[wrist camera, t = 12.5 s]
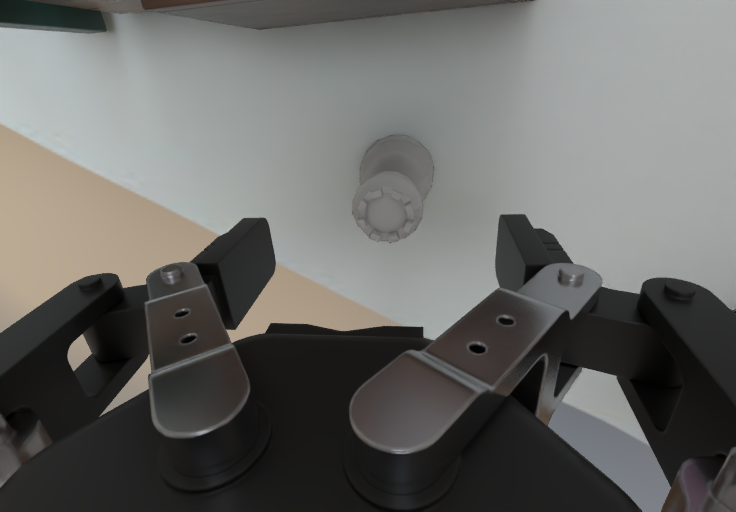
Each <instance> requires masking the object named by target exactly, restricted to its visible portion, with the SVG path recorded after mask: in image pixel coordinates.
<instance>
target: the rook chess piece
mask: <svg viewBox="0 0 736 512" xmlns="http://www.w3.org/2000/svg"><path fill="white" fill-rule="evenodd" d="M433 172H434V166H433V163H432V160H431V157H430V154H429V153H428V151H427V150H426V149H425V148H424V147H423V146H422V144H421V143H420V142H418V141H416V140H414V139H411V138H409V137H407V136H396V135H391V136H388V137H386V138H383V139H380V140H377V141H376V142H375V143H374V144H373V145H372V146H371V147H370V148H369V149H368V150H367V151H366V154H365V156H364V158H363V160H362V163H361V167H360V183H361V186H360V187H359V188H358V190H357V192H356V194H355V196H354V199H353V211H352V214H353V216H354V219H355V221H356V223H357V226H358V227H359V228H360V229H361V230H362V231H363V232H364V233H365V234H366V235H367V236H369V238H370V239H372V240H374V241H377V242H379V241H386V242H389V243H392V242H395V241H399V240H401V239H404V238H406V237H407V236H409V235H410V234H411V233H412V232H414V231H415V230H416V228H417V226H418V225H419V223H420V221H421V219H422V211H423V204H422V200H423V199H425V197H426V195H427V193H428V192H429V190H430V188H431V186H432V182H433Z"/></svg>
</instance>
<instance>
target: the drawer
mask: <svg viewBox="0 0 736 512" xmlns="http://www.w3.org/2000/svg"><path fill="white" fill-rule="evenodd" d="M101 11H103V12H110V13H111V12H113V13H119V14H124V13H133V12H141V11H148V10H144V9H143V7H142V3H141V0H0V27H5V28H19V29H32V30H46V31H60V32H73V33H87V34H91V33H100V32H106V31H107V29H106V26H105V23H104V19H103V16H102V13H101Z"/></svg>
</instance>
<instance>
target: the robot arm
mask: <svg viewBox="0 0 736 512" xmlns="http://www.w3.org/2000/svg"><path fill="white" fill-rule="evenodd" d="M275 265H276V261H275V254H274V249H273V244H272V239H271V233H270V228H269V224H268V221H267V220H266V219H265V218H243V219H242V220H241V221H240V222H239V223H238V224H237V225H235V226H234V227H233V228H232V229H231V230H230V231H229V232H227V233H225V234H223V235H221V236H219V237H218V238H216V239H215V240H214V241H213V242H212V243H211V244H210V245H209V246H207V247H206V248H205V249H204V251H202V252H201V253H200V254H199V255H197V256H196V257H195V258H194V259H193V260H192V261H190V262H180V263H173V264H169V265H166V266H163V267H161V268H158V269H156V270H155V271H153V272H152V273H150V274H149V275H148V276H147V279H146V282H147V284H146V285H140V286H133V287H127V288H123V287H122V285H121V282H120V280H119V277H118V275H116V274H112V273H103V274H97V275H91V276H87V277H84V278H82V279H80V280H78V281H76V282H74V283H72V284H70V285H69V286H67V287H66V288H64V289H63V290H62V291H60V292H59V293H57V294H56V295H54V296H53V297H51V298H50V299H49V300H47V301H46V302H44V303H43V304H42V305H40V306H39V307H37V308H36V309H34V310H33V311H31V312H30V313H29V314H27V315H26V316H24V317H23V318H21V319H20V320H19V321H17V322H16V323H14V324H13V325H11V326H10V327H9V328H7V329H6V330H4V331H3V332H2V333H0V512H642V510H641V509H640V508H639V507H638V506H637V505H636V503H635V502H634V501H633V500H632V499H631V498H630V497H629V496H628V495H627V494H626V493H625V492H624V491H623V490H622V489H621V488H620V487H619V486H617V484H615V483H614V482H613V481H612V480H611V479H610V478H608V477H607V476H606V475H605V474H604V473H602V472H601V471H600V470H599V469H598V468H596V467H595V466H594V465H593V464H592V463H591V462H589V461H588V460H587V459H586V458H585V457H584V456H582V455H581V454H580V453H579V452H577V451H576V450H575V449H574V448H573V447H572V446H570V445H569V444H568V443H567V442H566V441H565V440H563V439H562V438H561V437H560V436H559V435H557V434H556V433H555V432H554V431H553V430H552V429H550V428H549V427H548V424H549V421H550V419H551V416H552V414H553V413H554V411H555V409H556V408H557V406H558V405H559V403H560V402H561V401H562V399H563V398H564V396H565V395H566V393H567V392H568V390H569V389H570V387H571V386H572V384H573V383H574V382H575V380H576V379H577V377H578V376H579V374H580V373H581V371H582V368H587V369H592V370H596V371H600V372H604V373H608V374H612V375H616V376H617V380H618V382H619V384H620V386H621V388H622V390H623V392H624V394H625V396H626V398H627V400H628V402H629V404H630V406H631V408H632V410H633V412H634V414H635V416H636V418H637V420H638V422H639V424H640V426H641V428H642V430H643V432H644V434H645V436H646V438H647V440H648V442H649V444H650V446H651V448H652V450H653V452H654V454H655V456H656V458H657V460H658V462H659V464H660V466H661V468H662V470H663V472H664V474H665V476H666V478H667V480H668V482H669V484H670V486H671V490H670V492H669V494H668V496H667V498H666V501H665V503H664V505H663V507H662V510H661V512H736V312H734V313H733V312H732V311H731V310H730V309H729V308H728V307H727V306H726V305H725V304H724V303H722V302H721V301H720V300H719V299H718V298H717V297H716V296H715V295H714V294H713V293H711V292H710V291H709V290H707V289H705V288H703V287H701V286H699V285H696V284H694V283H691V282H688V281H684V280H679V279H673V278H653V279H649V280H646V281H645V282H644V283H643V285H642V288H641V292H640V294H636V293H630V292H624V291H618V290H612V289H608V288H605V287H602V277H601V276H600V275H599V274H598V273H597V272H595V271H594V270H592V269H590V268H587V267H584V266H581V265H577V264H573V262H572V261H571V259H570V258H569V256H568V255H567V254H566V252H565V251H563V248H562V247H561V245H560V244H559V242H558V241H557V239H556V238H555V237H554V235H552V234H551V233H549V232H547V231H545V230H544V229H534V228H533V227H532V225H531V223H530V222H529V220H528V218H527V217H526V215H525V214H510V215H500V218H499V225H498V236H497V248H496V259H495V269H496V276H497V280H498V283H499V286H500V288H498V289H496V290H495V291H494V292H492V293H491V294H490V295H489V296H488V297H486V298H485V299H484V300H483V301H482V302H480V303H479V304H478V305H477V306H475V307H474V308H473V309H472V310H471V311H469V312H468V313H467V314H466V315H465V316H463V317H462V318H461V319H460V320H459V321H457V322H456V323H455V324H454V325H452V326H451V327H450V328H449V329H448V330H446V331H445V332H444V333H443V334H442V335H440V336H439V337H438V338H437V339H435V340H430V339H426V338H423V327H402V326H382V327H374V328H366V329H359V330H351V331H337V330H333V329H327V328H323V327H318V326H313V325H309V324H283V323H271V324H270V326H269V327H268V329H267V331H266V332H265V333H264V334H258V335H254V336H250V337H247V338H244V339H241V340H238V341H235V342H233V343H231V341H230V338H229V336H228V333H227V331H226V329H227V330H229V329H230V330H235V329H236V328H237V327H238V325H239V324H240V322H241V321H242V319H243V318H244V316H245V315H246V314H247V312H248V311H249V309H250V308H251V306H252V305H253V303H254V302H255V300H256V299H257V297H258V296H259V294H260V293H261V292H262V290H263V289H264V287H265V286H266V284H267V283H268V281H269V280H270V279H271V277H272V276H273V274H274V271H275ZM81 334H83V335H84V337H85V340H86V342H87V344H88V346H89V348H90V350H91V352H92V354H91V355H90V356H89V357H88V358H87V359H86V360H85V361H84V362H83V363H82V364H81V365H80V366H79V367H78V368H77V369H76V370H75V371H74V372H73V370H72V368H71V366H70V365H69V362H68V359H67V353H68V349H69V347H70V345H71V344H72V343H73V341H75V340H76V339H77V338H78V337H79V336H80V335H81ZM148 354H150V363H151V374H149V375H148V382H149V383H148V384H149V389H148V390H146V391H144V392H143V393H141V394H139V395H138V396H136V397H134V398H132V399H130V400H128V401H127V402H125V403H123V404H121V405H120V406H118V407H116V408H114V409H113V410H111V411H109V412H107V413H105V414H103V415H102V416H100V415H101V414H102V412H103V411H104V410H105V409H106V408H107V406H108V405H109V404H110V403H111V402H112V400H113V399H114V398H115V397H116V395H117V394H118V393H119V392H120V391H121V389H122V388H123V387H124V386H125V384H126V383H127V382H128V381H129V380H130V379H131V377H132V376H133V375H134V374H135V373H136V371H137V370H138V369H139V368H140V366H141V365H142V364H143V363H144V362H145V360H146V359H147V357H148ZM99 416H100V417H99Z"/></svg>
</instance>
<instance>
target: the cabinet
mask: <svg viewBox="0 0 736 512" xmlns="http://www.w3.org/2000/svg"><path fill="white" fill-rule="evenodd" d="M523 1H533V0H141V3H142V7H143V9H144V10H148V11H153V12H159V13H164V14H170V15H176V16H182V17H188V18H193V19H199V20H205V21H211V22H217V23H223V24H229V25H234V26H240V27H246V28H252V29H259V30H261V29H270V28H280V27H289V26H298V25H308V24H317V23H326V22H336V21H345V20H355V19H364V18H373V17H383V16H392V15H401V14H411V13H420V12H430V11H439V10H448V9H458V8H467V7H476V6H486V5H495V4H505V3H514V2H523Z"/></svg>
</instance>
